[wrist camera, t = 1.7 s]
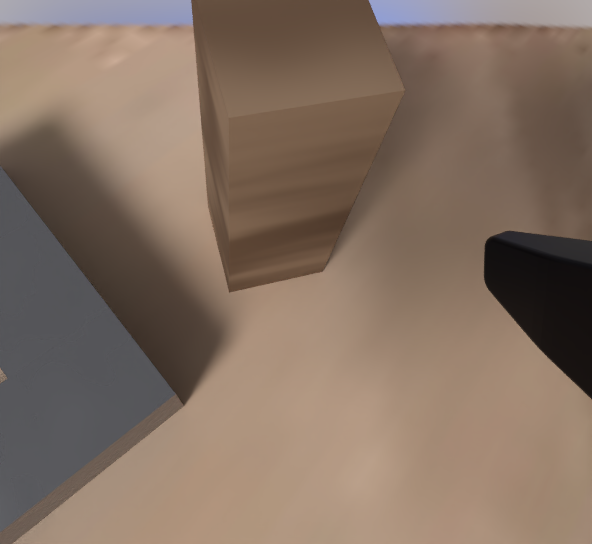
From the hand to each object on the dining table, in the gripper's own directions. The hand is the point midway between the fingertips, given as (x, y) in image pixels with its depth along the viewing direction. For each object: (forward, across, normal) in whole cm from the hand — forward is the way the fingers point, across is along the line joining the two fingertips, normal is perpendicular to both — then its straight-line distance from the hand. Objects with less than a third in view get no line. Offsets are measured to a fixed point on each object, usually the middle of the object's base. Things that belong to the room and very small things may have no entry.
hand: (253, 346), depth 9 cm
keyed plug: (+15, -4, +6) cm, 17 cm away
